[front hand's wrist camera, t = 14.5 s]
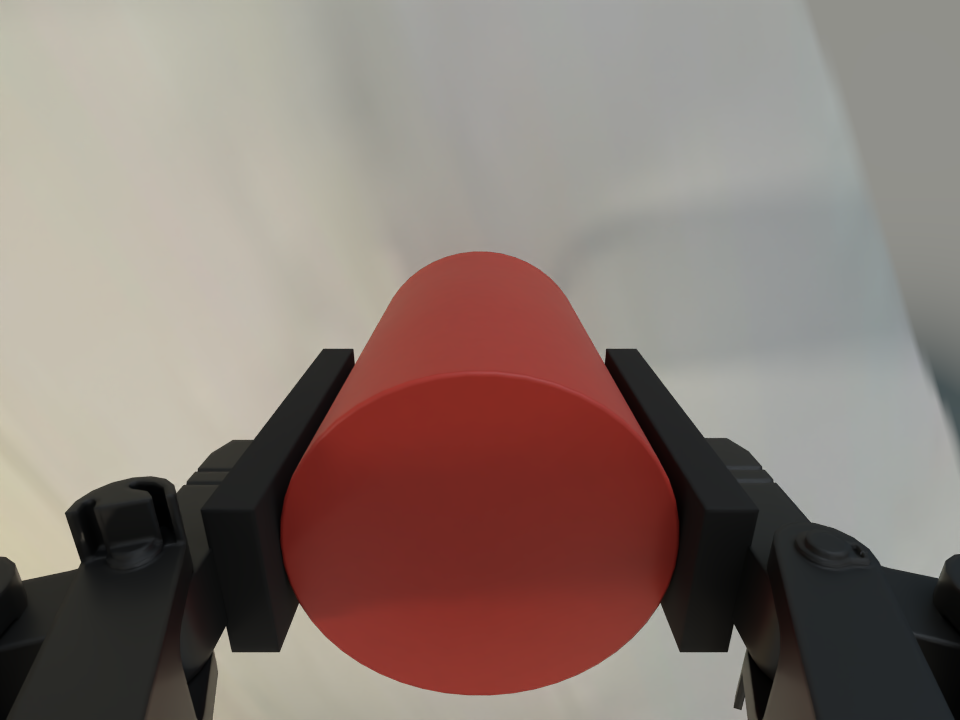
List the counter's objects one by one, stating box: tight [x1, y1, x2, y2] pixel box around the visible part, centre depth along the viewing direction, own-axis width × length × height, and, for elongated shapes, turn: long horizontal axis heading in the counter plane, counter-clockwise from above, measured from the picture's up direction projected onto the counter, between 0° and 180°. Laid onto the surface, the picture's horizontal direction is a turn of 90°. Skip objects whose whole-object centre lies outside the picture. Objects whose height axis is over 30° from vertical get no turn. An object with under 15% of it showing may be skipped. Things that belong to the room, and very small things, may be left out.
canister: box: [280, 252, 679, 695], centre depth 13 cm, size 6×6×9 cm
